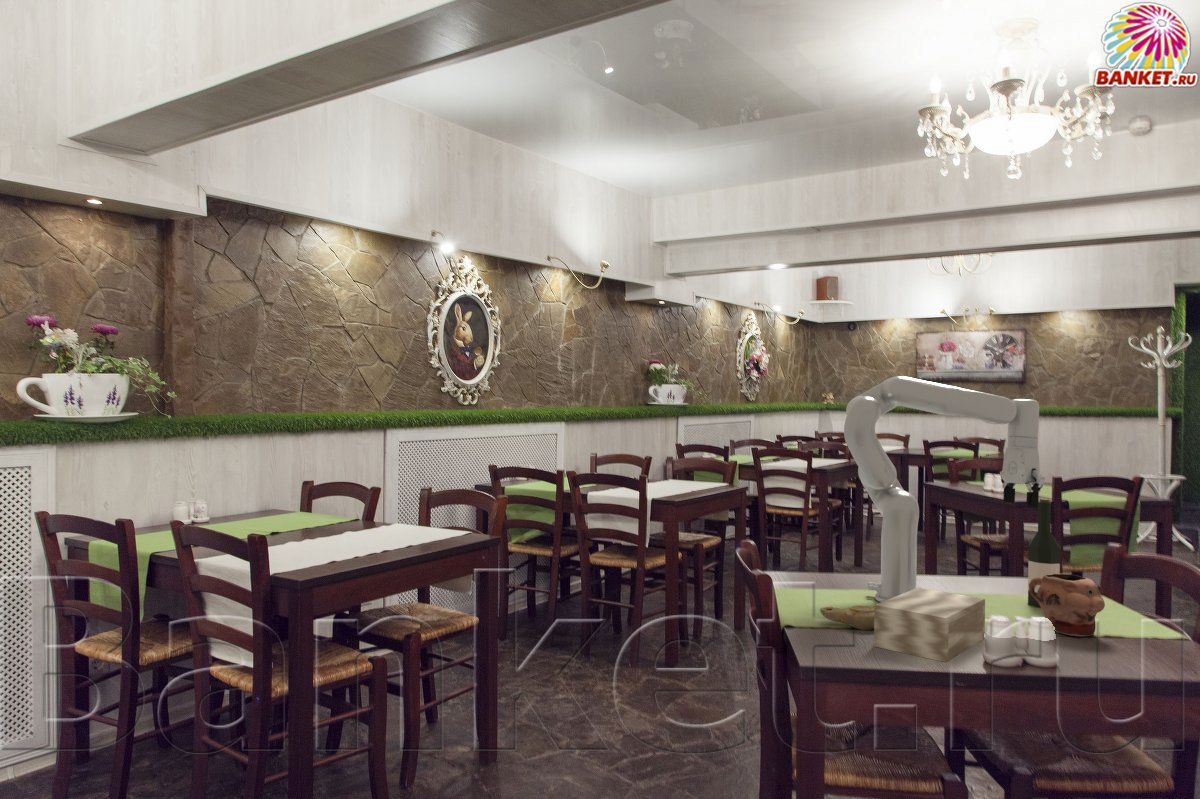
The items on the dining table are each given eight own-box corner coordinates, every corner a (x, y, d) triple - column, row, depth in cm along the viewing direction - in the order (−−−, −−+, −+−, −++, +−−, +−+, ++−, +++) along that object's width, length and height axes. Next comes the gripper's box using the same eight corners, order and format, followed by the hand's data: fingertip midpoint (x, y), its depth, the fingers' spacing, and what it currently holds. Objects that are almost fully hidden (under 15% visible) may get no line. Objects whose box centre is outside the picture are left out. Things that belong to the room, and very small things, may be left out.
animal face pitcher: (1011, 623, 207) (1012, 569, 207) (1041, 618, 212) (1041, 566, 213) (1089, 644, 189) (1090, 585, 189) (1119, 638, 195) (1120, 581, 195)
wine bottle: (1052, 602, 231) (1053, 498, 231) (1065, 609, 223) (1067, 501, 223) (1021, 601, 232) (1023, 497, 232) (1034, 608, 224) (1035, 500, 224)
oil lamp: (817, 621, 206) (818, 602, 206) (870, 620, 208) (870, 601, 208) (835, 633, 195) (836, 612, 195) (891, 632, 197) (891, 611, 197)
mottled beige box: (874, 646, 184) (874, 604, 184) (917, 625, 204) (918, 587, 204) (945, 662, 174) (946, 618, 174) (984, 638, 193) (985, 598, 193)
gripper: (990, 441, 233) (988, 500, 233) (1031, 444, 216) (1029, 508, 215) (1014, 442, 234) (1012, 501, 234) (1056, 445, 217) (1054, 508, 217)
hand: (1020, 504), depth 225 cm, fingers open, 9 cm apart
